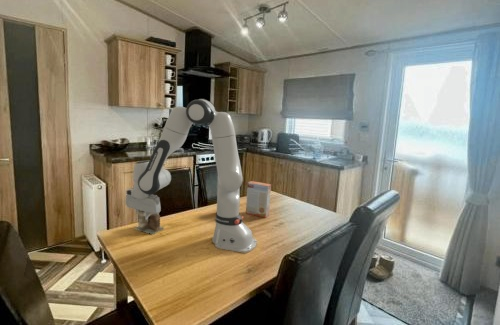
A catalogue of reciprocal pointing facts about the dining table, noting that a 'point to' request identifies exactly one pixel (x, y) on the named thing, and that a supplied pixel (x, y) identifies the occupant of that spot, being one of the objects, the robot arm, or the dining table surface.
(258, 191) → the cracker box
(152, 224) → the walnut slotted plate
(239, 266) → the dining table surface
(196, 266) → the dining table surface
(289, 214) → the dining table surface
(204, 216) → the dining table surface
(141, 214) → the maple slotted plate
